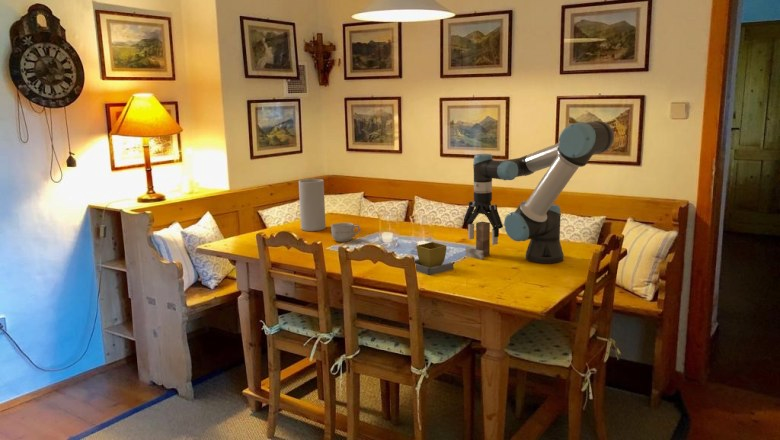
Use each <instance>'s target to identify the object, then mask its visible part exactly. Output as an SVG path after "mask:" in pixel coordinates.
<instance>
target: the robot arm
mask: <svg viewBox="0 0 780 440" xmlns="http://www.w3.org/2000/svg"><path fill="white" fill-rule="evenodd" d="M614 140H615V134H614V130H613V128H612V127H611V126H610V125H609V124H608V123H606V122H604V121H600V120H598V121H597V120H595V121H594V120H593V121H588V122H580V121H579V122H575V123H572V124H570V125H568V126H566V127H565V128H564V129H563V130H561V133H560V134H559V137H558V142H557V143H555V144H553V145H550V146H547V147H544V148H542V149H539V150H536V151H534V152H532V153H529V154H527V155H524V156H521V157H517V158H509V159H504V160H503V159H501V160H499V159H498V160H497V159H493V155H492V154H490V153H477V154H475V155H474V157H473V165H472V166H473V191H474V192H473V200H471V201H469V202H468V207H467V210H466V213H465V215H464V218H463V222H464V223H466V224H467V233H468V234H467V235H468V237H467V238H468V240H474V239H475V222H474V221H475V220H476V218H477V217H478V215H484V216H485V217H486V218H487V220H488V221H489V223H490V225H491V227H492V229H491V245H492V246H495V245H498V243H499V241H498V239H499V235H500V229H502V228H503V227H504V229H505V232H506V234H507V236H508V237H509V238H510V239H511V240H512V241H515V242H525V241H529V243H528V245H527V249H526V251H525V259H526V260H527V261H528V262H532V263H536V264H556V263H557V264H558V263H561V262H563V261H564V260H565V257H564V255H565V254H564V252H563V249H562V244H561V241H560V240H561V217H562V216H561V215H562V213H561V206H560V205H558V204H556V203H555V201H557V198H558V197H559V196H560V194H561V193H562V191H563V190H564V189H565V187H567V184H568V183H569V182H570V180H571V179H572V178H573V176H574V175H575V173H576V172H577V170H578V169H579V168H582V167H585V166H586V165H587V164H588V162H589V161H590V159H591V158H592V157H593V156H594V155H599V154H602V153H605V152H607V151H609V149H611V147H612V146H613V143H614ZM547 168H548V169H547ZM545 169H547V171H546V172H545V173H544V175H543V176H542V178H541V179H540V181H539V182H538V184H537V185H536V187H535V188H534V190H533V192H532V193H531V194H530V196H529V197H528V198H527V200H523V201H521V202H520V203H519V205H517V206H518V207H517V208H516V209H515V211H511V212H509V213H508V214H507V215H505V218H504V221H503V222H504V224H503V222H502V220H501V217H500V214H499V211H498V205H497V204H492V203H491V202H492V200H493V192H492V190H493V179H495V180H503V181H513V180H515V179H516V178H518V177H523V176H524V177H527V176H529V175H530V176H531V175H532V174H534V173H536V172H538V171H541V170H545Z"/></svg>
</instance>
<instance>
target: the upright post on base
mask: <svg viewBox="0 0 780 440" xmlns="http://www.w3.org/2000/svg"><path fill="white" fill-rule="evenodd" d="M490 225H491V223H490V222H486V221H479V222H476V223H475V248H473V247H470V246H468V247H465V256H466V257H469V258H473V259H476V260H481V261H482V260H484V258H485V257H488V256H490V253H491V252H490V249H491V248H490V247H491V244H490V243H491V242H490V241H491V237H490V236H491V229H490V228H491V226H490Z"/></svg>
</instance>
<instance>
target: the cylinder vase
mask: <svg viewBox="0 0 780 440" xmlns="http://www.w3.org/2000/svg"><path fill="white" fill-rule="evenodd" d="M324 185H325V183H324V179H321V178H305V179H300V180H298V195H299V212H300V215H299V216H300V228H301V230H302V231H305V232H320V231H322V230H325V229H326V227H327V226H326V225H327V224H326V206H325V187H324Z"/></svg>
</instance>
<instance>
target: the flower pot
mask: <svg viewBox="0 0 780 440" xmlns="http://www.w3.org/2000/svg"><path fill="white" fill-rule="evenodd" d="M447 247H448V246H447V245H446V244H443V243H439V242H435V241H430V242H425V243H422V244H417V245H416V253H417V257H418V258H417V259H419V261H420V263H421V264H422V266H426V267H429V268H432V267H436V266H440V265H444V261H445V259H446V255H447V253H446V252H447Z"/></svg>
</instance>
